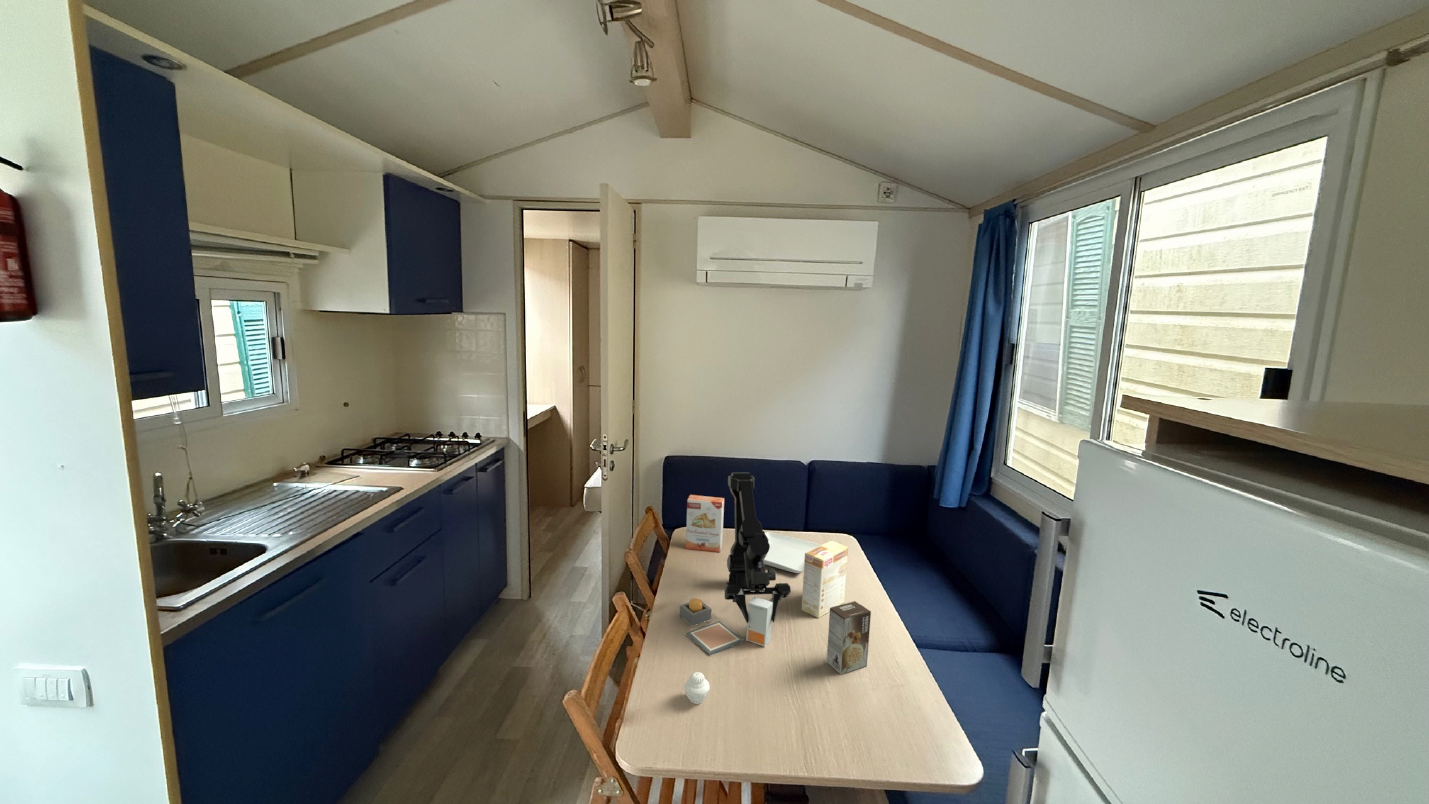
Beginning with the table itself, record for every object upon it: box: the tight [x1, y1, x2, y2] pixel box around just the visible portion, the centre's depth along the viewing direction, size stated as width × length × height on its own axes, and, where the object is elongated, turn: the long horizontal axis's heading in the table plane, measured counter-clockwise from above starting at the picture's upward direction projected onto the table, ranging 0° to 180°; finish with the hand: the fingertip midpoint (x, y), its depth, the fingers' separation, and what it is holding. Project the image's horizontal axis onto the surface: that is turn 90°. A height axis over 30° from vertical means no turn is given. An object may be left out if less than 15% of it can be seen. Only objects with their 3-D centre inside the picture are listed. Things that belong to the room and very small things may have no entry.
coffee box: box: [826, 600, 872, 675], centre depth 150 cm, size 9×6×16 cm
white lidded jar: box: [683, 671, 710, 705], centre depth 134 cm, size 6×6×7 cm
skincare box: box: [745, 596, 773, 648], centre depth 159 cm, size 6×4×12 cm
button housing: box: [679, 601, 713, 627], centre depth 171 cm, size 7×7×4 cm
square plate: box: [764, 531, 822, 574], centre depth 217 cm, size 27×27×4 cm
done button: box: [688, 598, 703, 613], centre depth 171 cm, size 4×4×3 cm
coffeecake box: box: [801, 540, 849, 619], centre depth 179 cm, size 15×7×20 cm, turn 134°
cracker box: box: [685, 494, 725, 553], centre depth 220 cm, size 14×6×21 cm, turn 80°
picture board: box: [685, 620, 745, 656], centre depth 161 cm, size 12×12×1 cm
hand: (760, 622), depth 158 cm, fingers closed on skincare box, 7 cm apart
